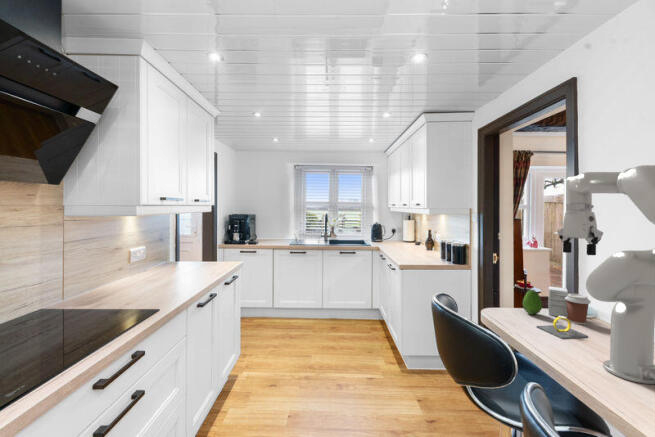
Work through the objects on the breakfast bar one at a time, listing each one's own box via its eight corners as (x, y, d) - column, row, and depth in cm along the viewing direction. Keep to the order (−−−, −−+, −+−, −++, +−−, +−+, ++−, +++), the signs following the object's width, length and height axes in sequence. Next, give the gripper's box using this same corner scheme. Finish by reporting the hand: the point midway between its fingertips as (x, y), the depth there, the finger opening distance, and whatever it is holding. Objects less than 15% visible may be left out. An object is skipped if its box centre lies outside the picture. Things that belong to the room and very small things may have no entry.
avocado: (523, 315, 149) (524, 290, 149) (521, 310, 156) (522, 286, 156) (543, 317, 146) (544, 292, 145) (540, 312, 153) (541, 288, 152)
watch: (567, 330, 129) (568, 316, 129) (571, 333, 126) (573, 319, 126) (551, 328, 130) (553, 314, 130) (555, 331, 127) (556, 316, 127)
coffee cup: (559, 319, 143) (560, 294, 143) (571, 317, 147) (571, 292, 146) (582, 326, 135) (583, 299, 134) (594, 323, 138) (595, 296, 138)
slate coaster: (588, 337, 123) (588, 335, 123) (561, 338, 122) (561, 337, 121) (561, 326, 135) (561, 324, 135) (536, 327, 133) (536, 325, 133)
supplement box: (548, 311, 156) (548, 286, 155) (566, 314, 151) (567, 288, 151) (548, 315, 150) (548, 289, 149) (567, 318, 145) (568, 291, 145)
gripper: (611, 207, 109) (611, 256, 109) (566, 209, 126) (566, 251, 126) (592, 207, 108) (592, 256, 108) (550, 209, 125) (550, 251, 125)
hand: (578, 253), depth 117 cm, fingers open, 9 cm apart
